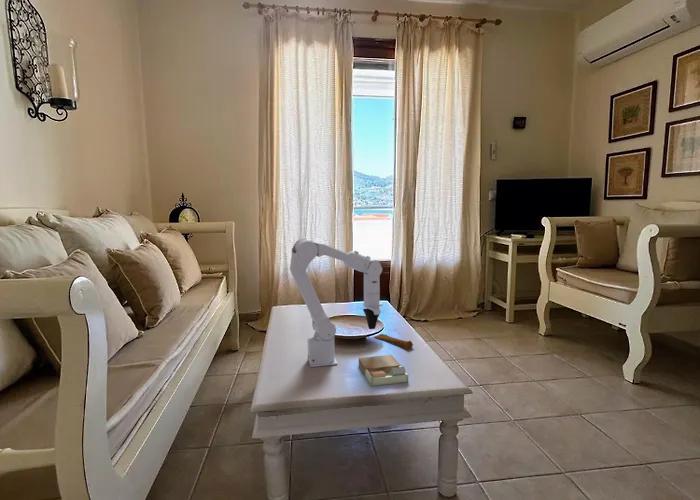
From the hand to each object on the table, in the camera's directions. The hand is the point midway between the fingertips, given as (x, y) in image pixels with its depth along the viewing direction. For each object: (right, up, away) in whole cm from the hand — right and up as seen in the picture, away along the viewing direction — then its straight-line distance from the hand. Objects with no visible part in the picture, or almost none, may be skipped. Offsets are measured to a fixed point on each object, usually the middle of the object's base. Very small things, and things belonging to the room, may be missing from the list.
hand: (371, 328), depth 144 cm
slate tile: (+7, -9, -19) cm, 22 cm away
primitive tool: (+9, -9, +14) cm, 18 cm away
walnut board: (+2, -11, -11) cm, 16 cm away
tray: (+4, -12, -19) cm, 23 cm away
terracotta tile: (+1, -10, -20) cm, 22 cm away
